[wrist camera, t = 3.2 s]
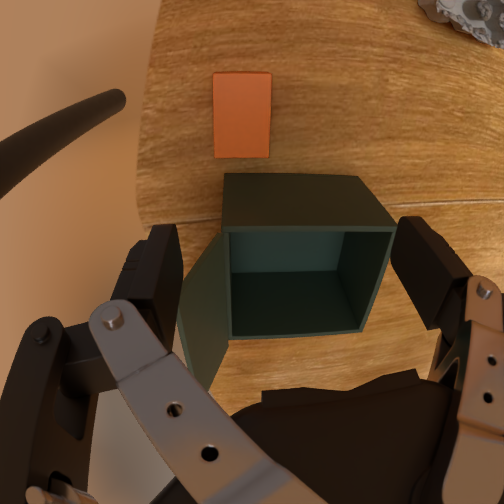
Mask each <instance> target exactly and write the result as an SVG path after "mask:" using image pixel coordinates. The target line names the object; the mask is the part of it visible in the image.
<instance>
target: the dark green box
mask: <svg viewBox="0 0 504 504" xmlns="http://www.w3.org/2000/svg"><path fill="white" fill-rule="evenodd" d="M397 225H398V224H397V223H396V222H395V221H394V219H393V218H392V217H391V216H390V214H389V213H388V212H387V211H386V209H385V208H384V207H383V206H382V204H381V203H380V202H379V201H378V199H377V198H376V197H375V196H374V195H373V193H372V192H371V191H370V190H369V189H368V188H367V186H366V185H365V184H364V183H363V182H362V181H361V179H360V178H359V177H358V176H345V175H324V174H292V173H225V174H224V188H223V204H222V221H221V233H223V245H224V269H225V290H226V309H227V327H228V340H248V339H276V338H295V337H311V336H325V335H337V334H348V333H358V332H362V331H363V329H364V326H365V324H366V321H367V319H368V316H369V314H370V311H371V309H372V306H373V303H374V301H375V298H376V295H377V293H378V290H379V287H380V284H381V282H382V279H383V276H384V273H385V270H386V267H387V264H388V261H389V258H390V253H391V248H392V245H393V241H394V237H395V233H396V229H397Z"/></svg>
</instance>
